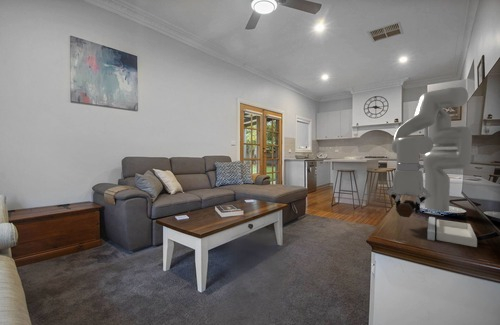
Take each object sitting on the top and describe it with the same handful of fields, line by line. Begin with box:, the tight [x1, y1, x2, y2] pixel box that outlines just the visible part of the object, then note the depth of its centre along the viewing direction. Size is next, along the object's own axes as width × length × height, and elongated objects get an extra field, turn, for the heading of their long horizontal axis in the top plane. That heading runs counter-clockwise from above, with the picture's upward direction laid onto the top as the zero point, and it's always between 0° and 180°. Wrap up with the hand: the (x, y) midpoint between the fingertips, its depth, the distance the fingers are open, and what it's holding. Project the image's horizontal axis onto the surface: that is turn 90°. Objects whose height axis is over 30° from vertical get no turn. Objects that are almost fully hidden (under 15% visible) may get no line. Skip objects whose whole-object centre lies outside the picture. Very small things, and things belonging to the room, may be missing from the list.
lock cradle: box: [435, 218, 478, 248], centre depth 83 cm, size 20×10×3 cm, turn 140°
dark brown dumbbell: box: [395, 199, 416, 218], centre depth 92 cm, size 6×5×15 cm
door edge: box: [426, 216, 436, 241], centre depth 87 cm, size 22×2×3 cm, turn 140°
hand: (407, 210), depth 93 cm, fingers closed on dark brown dumbbell, 5 cm apart
